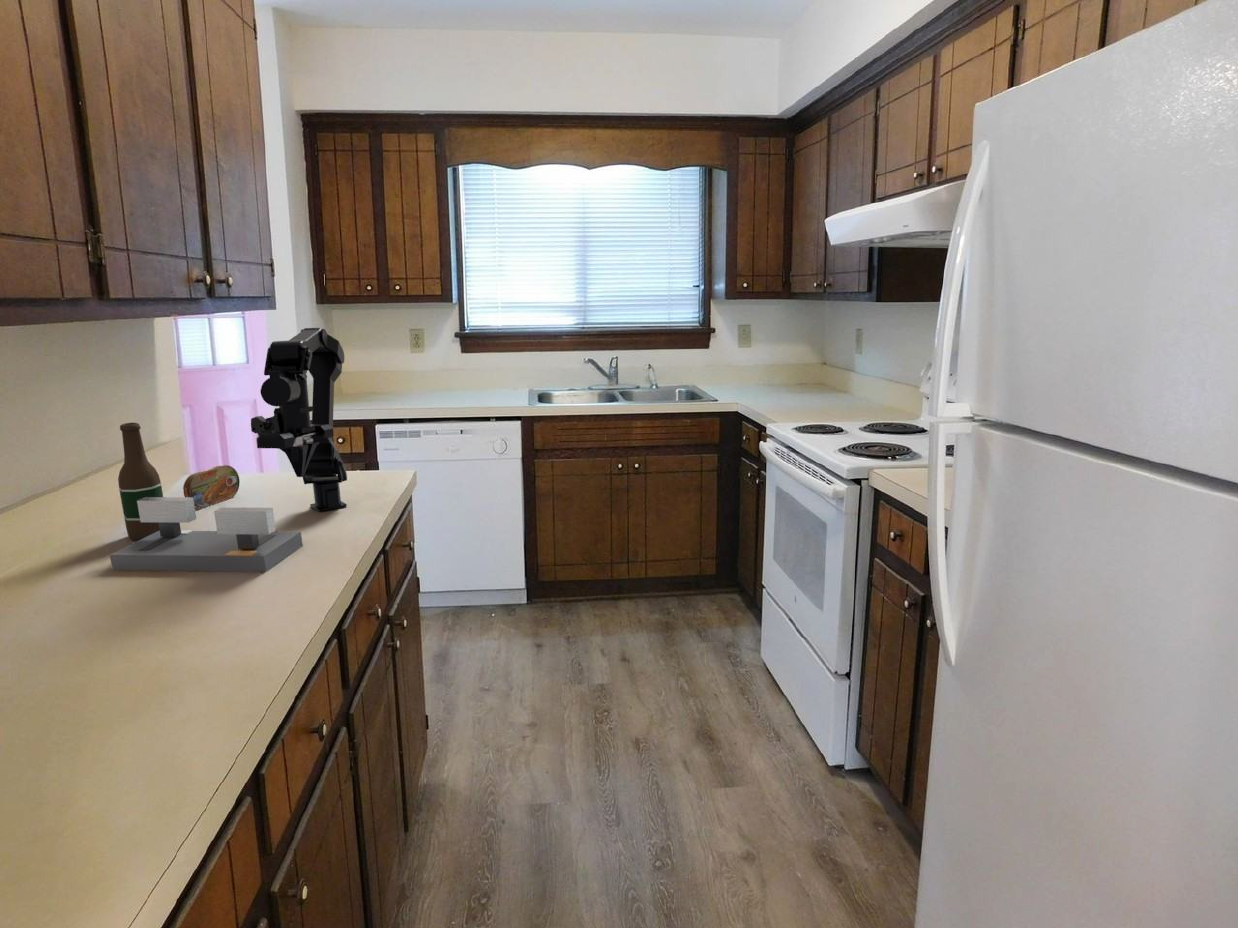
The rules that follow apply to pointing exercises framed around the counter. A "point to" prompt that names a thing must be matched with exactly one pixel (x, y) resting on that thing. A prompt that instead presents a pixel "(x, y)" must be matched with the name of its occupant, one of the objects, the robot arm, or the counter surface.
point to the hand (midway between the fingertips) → (300, 476)
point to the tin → (212, 485)
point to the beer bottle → (136, 482)
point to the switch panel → (205, 552)
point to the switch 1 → (167, 513)
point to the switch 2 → (245, 524)
